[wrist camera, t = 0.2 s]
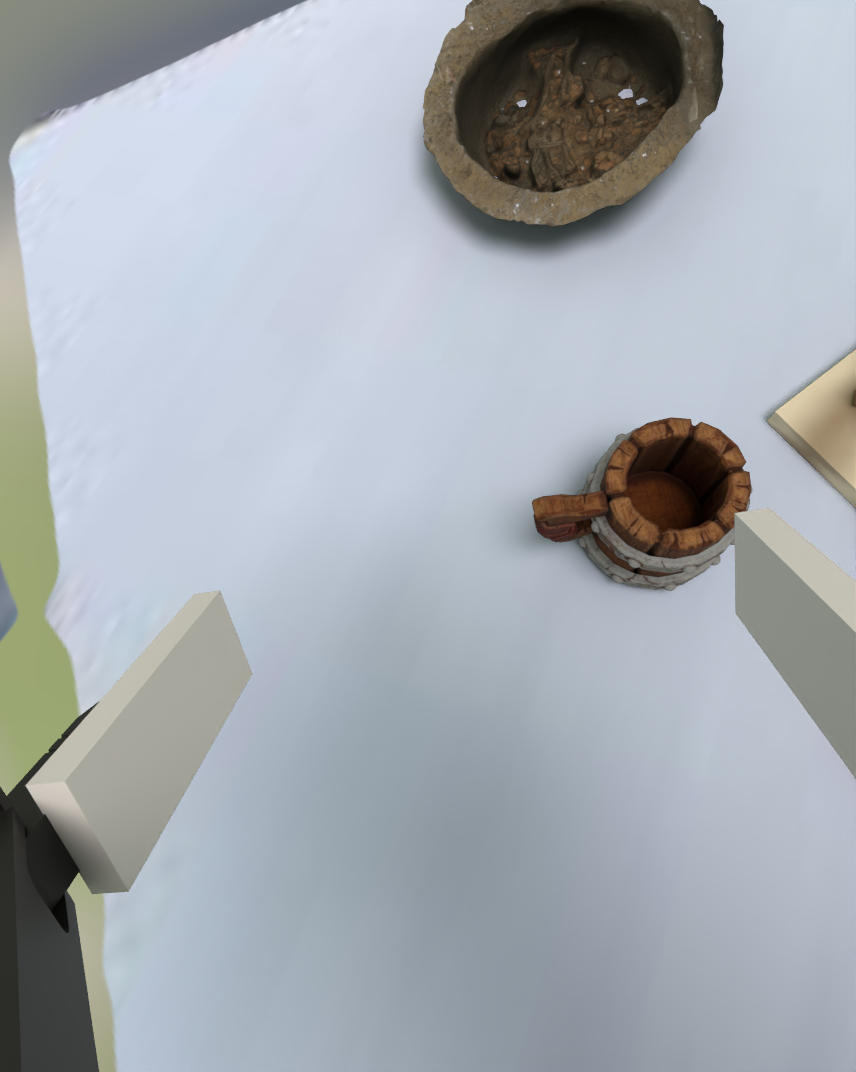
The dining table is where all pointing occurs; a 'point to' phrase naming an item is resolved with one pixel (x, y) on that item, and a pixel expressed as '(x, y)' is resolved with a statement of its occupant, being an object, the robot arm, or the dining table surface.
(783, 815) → the dining table surface
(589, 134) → the stone bowl
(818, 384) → the peg board
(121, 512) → the dining table surface
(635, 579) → the mug
